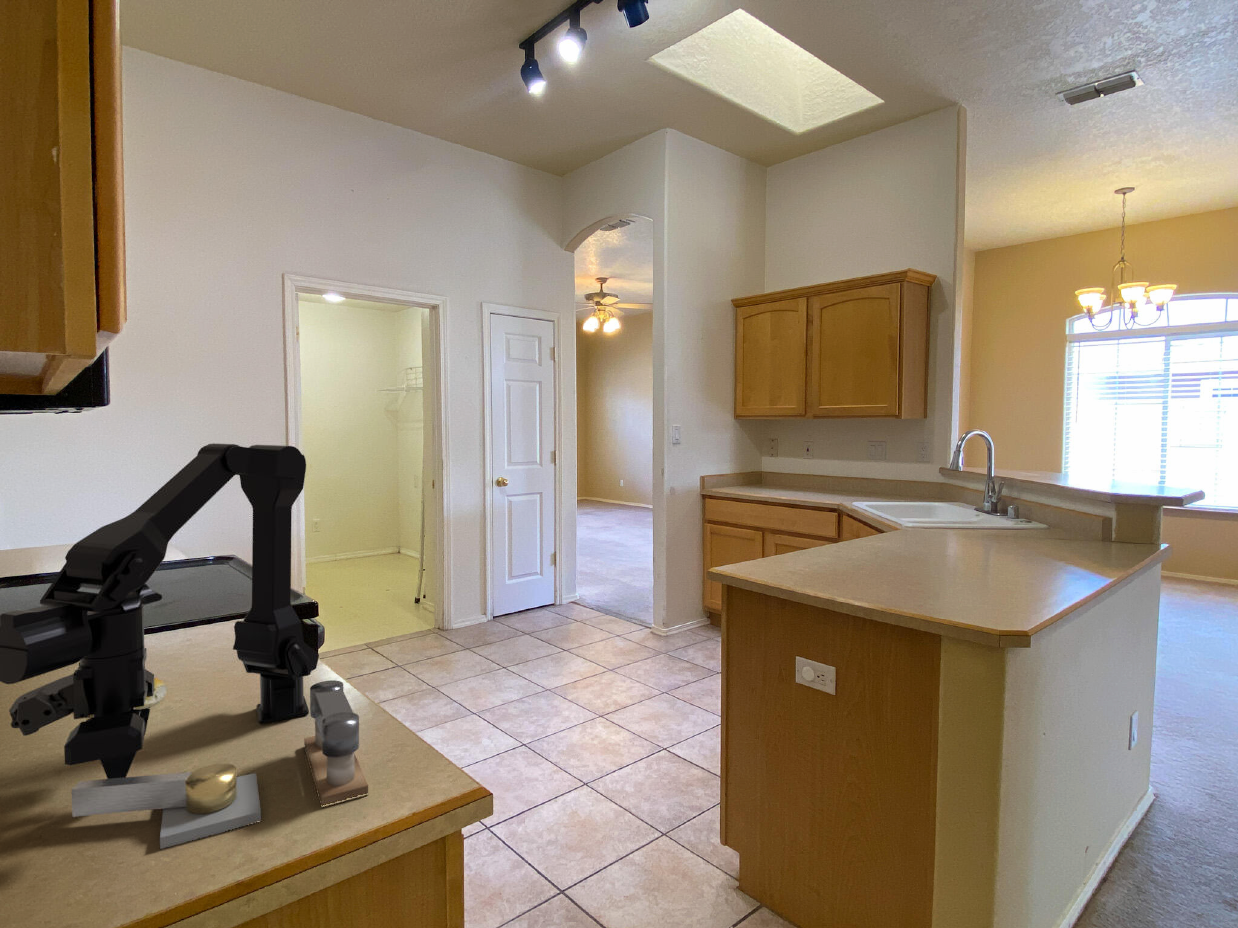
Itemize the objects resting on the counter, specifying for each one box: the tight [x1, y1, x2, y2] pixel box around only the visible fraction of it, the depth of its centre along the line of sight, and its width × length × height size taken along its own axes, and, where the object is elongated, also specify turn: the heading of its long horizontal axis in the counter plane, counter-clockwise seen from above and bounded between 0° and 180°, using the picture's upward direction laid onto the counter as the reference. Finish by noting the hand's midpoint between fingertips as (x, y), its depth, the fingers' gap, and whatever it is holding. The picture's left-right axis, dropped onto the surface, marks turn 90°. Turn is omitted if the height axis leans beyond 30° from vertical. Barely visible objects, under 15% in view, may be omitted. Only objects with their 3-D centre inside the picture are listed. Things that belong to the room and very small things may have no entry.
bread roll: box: [135, 677, 168, 709], centre depth 100 cm, size 8×9×4 cm
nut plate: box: [159, 772, 262, 850], centre depth 73 cm, size 9×9×1 cm
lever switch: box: [70, 762, 238, 818], centre depth 72 cm, size 15×5×3 cm, turn 102°
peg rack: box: [303, 719, 369, 806], centre depth 82 cm, size 16×5×5 cm, turn 32°
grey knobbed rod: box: [309, 679, 360, 757], centre depth 82 cm, size 15×4×4 cm, turn 32°
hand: (117, 784), depth 74 cm, fingers closed
